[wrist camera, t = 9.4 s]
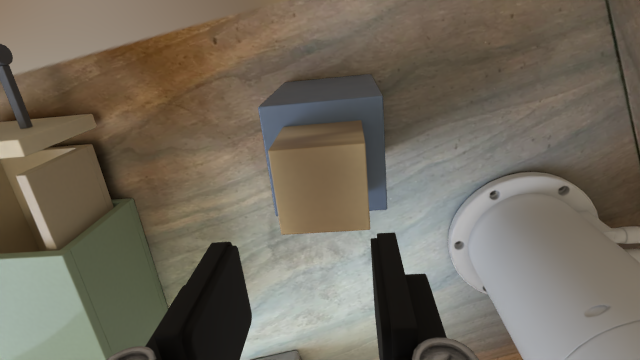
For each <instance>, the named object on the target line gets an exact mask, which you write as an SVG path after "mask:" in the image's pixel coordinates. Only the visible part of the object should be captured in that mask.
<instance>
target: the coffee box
mask: <svg viewBox="0 0 640 360" xmlns="http://www.w3.org/2000/svg"><path fill="white" fill-rule="evenodd" d="M255 360H301V358H300V356H299V354H298V352H297V351H291V352H286V353H282V354H277V355H273V356H268V357H264V358H260V359H255Z"/></svg>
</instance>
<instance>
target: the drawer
mask: <svg viewBox="0 0 640 360" xmlns="http://www.w3.org/2000/svg"><path fill="white" fill-rule="evenodd" d="M12 59H13V57H12V53H11V51H10V50H9V49H8V48H7V47H6V46H5V45H2V44H0V80H1V83H2V85H3V88H4V90H5V93H6V95H7V98H8V100H9V102H10V105H11V107H12V110H13V112H14V115H15V117H16V120H17V121H7V122H0V254H3V253H21V252H38V251H56V250H61V249H62V248H63V247H65V246H66V245H67V244H69V243H70V242H71V241H72V240H74V239H75V238H76V237H77V236H79V235H80V234H81V233H82V232H84V231H85V230H86V229H88V228H89V227H90V226H91V225H93V224H94V223H95V222H96V221H98V220H99V219H100V218H102V217H103V216H104V215H105V214H107V213H108V212H109V211H110V210H112V209H113V208H114V207H113V204H112V201H111V198H110V195H109V192H108V189H107V186H106V183H105V180H104V177H103V174H102V172H101V169H100V166H99V163H98V160H97V157H96V154H95V151H94V148H93V145H92V144H86V145H74V146H62V147H50V146H52V145H55V144H57V143H60V142H62V141H65V140H67V139H69V138H72V137H74V136H77V135H79V134H82V133H84V132H87V131H89V130H91V129H94V128H96V127H97V126H96V123H95V120H94V117H93V114H83V115H72V116H61V117H50V118H40V119H30V117H29V115H28V112H27V110H26V107H25V105H24V102H23V99H22V97H21V94H20V92H19V89H18V87H17V84H16V82H15V79H14V77H13V74H12V72H11V69H10V66H9V64H10V63H11V62H12ZM47 147H50V148H47Z"/></svg>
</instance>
